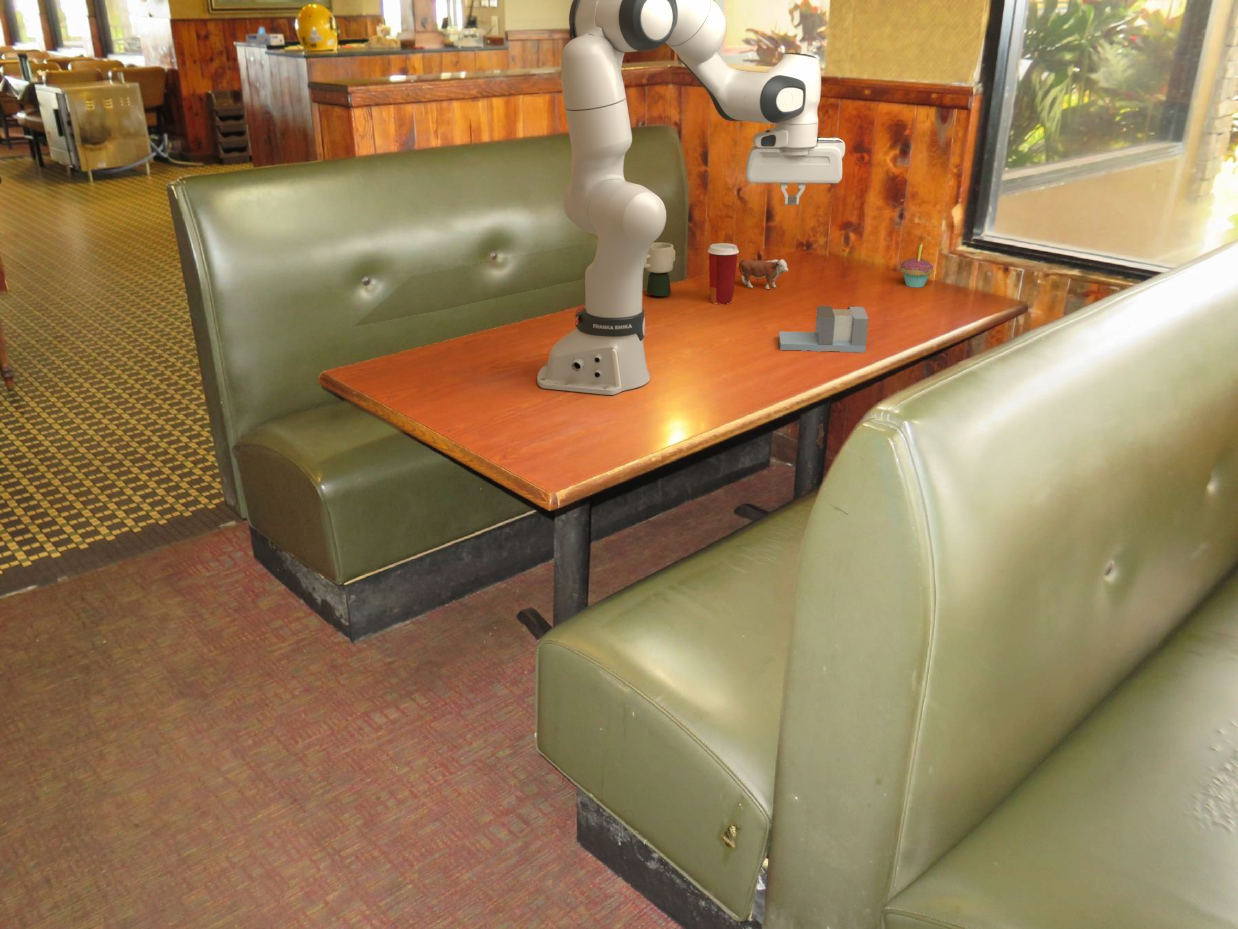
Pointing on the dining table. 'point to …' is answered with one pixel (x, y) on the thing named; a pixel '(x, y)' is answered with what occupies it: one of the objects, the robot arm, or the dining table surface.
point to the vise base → (810, 342)
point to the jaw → (825, 325)
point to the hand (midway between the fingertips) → (791, 204)
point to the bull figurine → (762, 270)
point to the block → (842, 325)
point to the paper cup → (722, 272)
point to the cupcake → (916, 270)
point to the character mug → (659, 268)
